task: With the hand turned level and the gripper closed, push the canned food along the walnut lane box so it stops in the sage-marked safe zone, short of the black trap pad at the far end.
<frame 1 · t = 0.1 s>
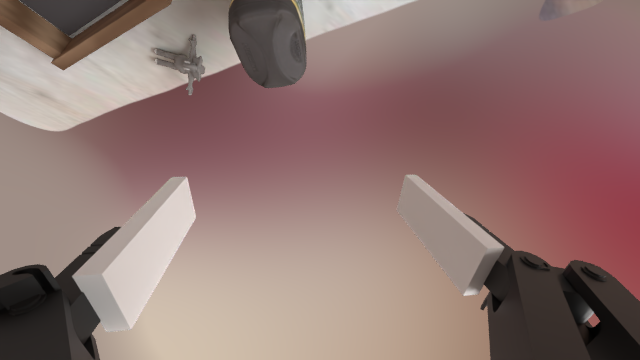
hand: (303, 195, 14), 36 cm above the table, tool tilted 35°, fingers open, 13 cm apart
grey toy figurine: (187, 56, 42), on the table
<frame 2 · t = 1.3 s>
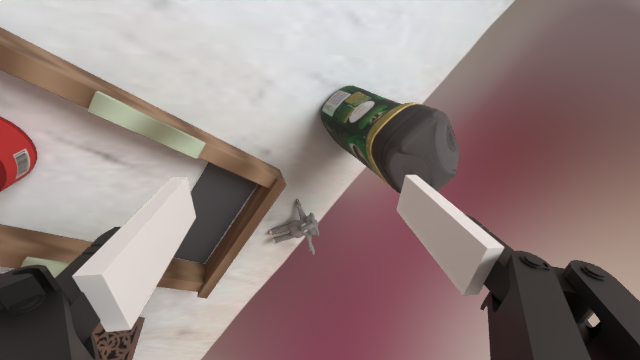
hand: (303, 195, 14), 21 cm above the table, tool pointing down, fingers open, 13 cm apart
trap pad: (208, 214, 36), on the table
coffee jar: (346, 116, 36), on the table
lane box: (87, 176, 28), on the table
tissue box cover: (27, 318, 34), on the table
grey toy figurine: (293, 220, 43), on the table
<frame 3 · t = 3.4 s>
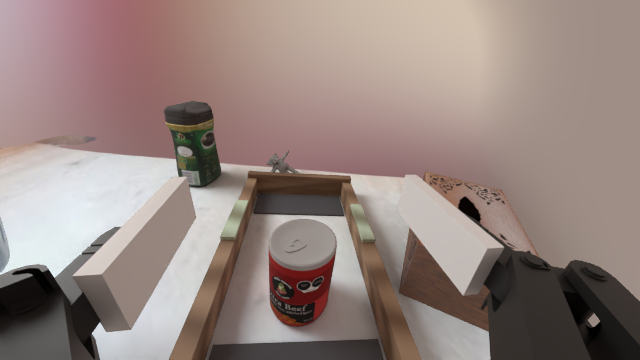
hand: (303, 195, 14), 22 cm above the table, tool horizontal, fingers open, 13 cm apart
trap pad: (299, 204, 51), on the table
canned food: (298, 300, 31), on the table
coffee jar: (201, 179, 57), on the table
lane box: (299, 254, 38), on the table
tissue box cover: (446, 255, 42), on the table
grey toy figurine: (284, 176, 63), on the table
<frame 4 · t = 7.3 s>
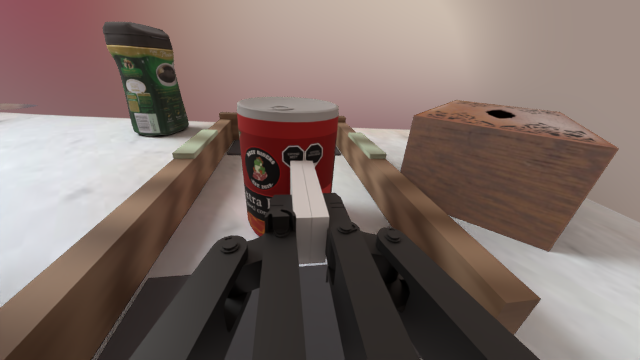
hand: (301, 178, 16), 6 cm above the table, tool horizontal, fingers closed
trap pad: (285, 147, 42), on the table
canned food: (289, 220, 22), on the table, touching gripper
coffee jar: (163, 132, 47), on the table
lane box: (287, 185, 29), on the table
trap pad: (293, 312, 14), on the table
tissue box cover: (472, 183, 34), on the table
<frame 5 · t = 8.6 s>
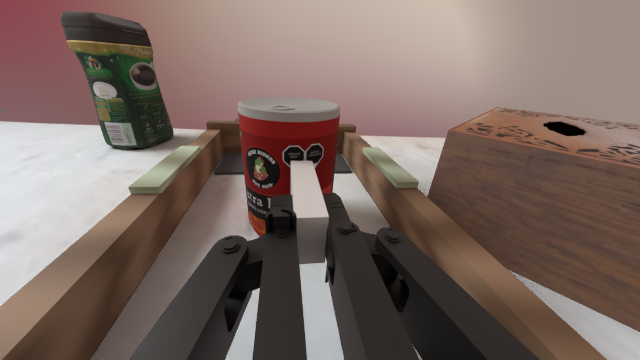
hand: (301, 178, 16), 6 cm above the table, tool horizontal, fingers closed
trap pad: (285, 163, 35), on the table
canned food: (290, 220, 22), on the table, touching gripper
coffee jar: (143, 142, 40), on the table
lane box: (288, 221, 22), on the table
tissue box cover: (518, 211, 27), on the table
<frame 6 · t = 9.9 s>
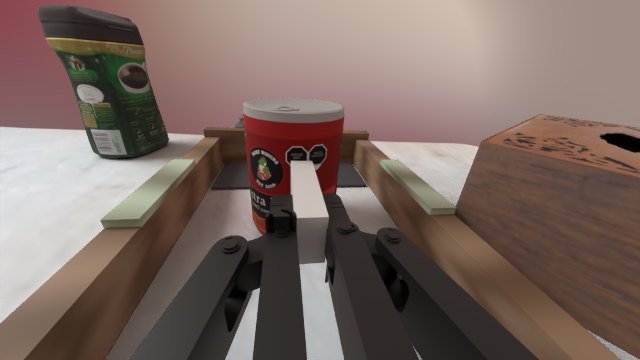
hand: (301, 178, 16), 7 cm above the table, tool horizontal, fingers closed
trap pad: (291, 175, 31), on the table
canned food: (294, 220, 23), on the table, touching gripper
coffee jar: (135, 150, 37), on the table
lane box: (298, 252, 18), on the table
tissue box cover: (562, 236, 23), on the table
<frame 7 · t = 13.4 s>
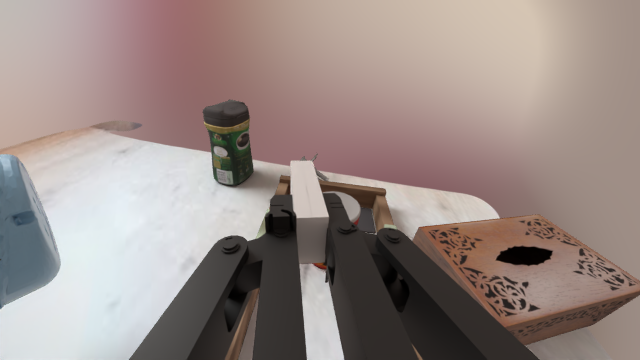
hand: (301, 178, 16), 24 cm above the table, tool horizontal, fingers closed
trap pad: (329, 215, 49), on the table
canned food: (326, 253, 41), on the table
coffee jar: (234, 177, 58), on the table
lane box: (326, 275, 37), on the table
tissue box cover: (488, 295, 38), on the table
grey toy figurine: (311, 180, 61), on the table
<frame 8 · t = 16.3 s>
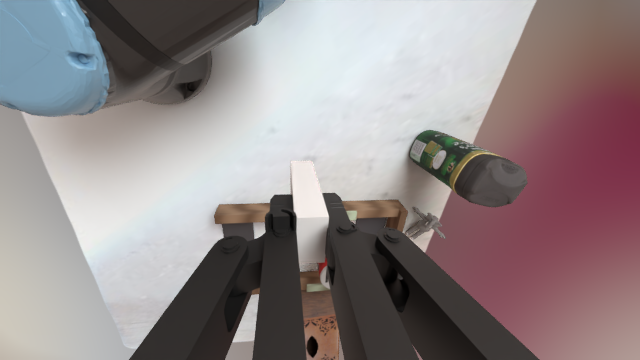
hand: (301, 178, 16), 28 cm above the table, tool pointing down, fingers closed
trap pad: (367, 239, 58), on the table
canned food: (329, 240, 57), on the table
coffee jar: (429, 147, 49), on the table
lane box: (310, 242, 56), on the table
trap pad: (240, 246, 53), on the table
tissue box cover: (308, 310, 69), on the table
grey toy figurine: (419, 219, 58), on the table
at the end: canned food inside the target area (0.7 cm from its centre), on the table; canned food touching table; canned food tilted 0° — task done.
